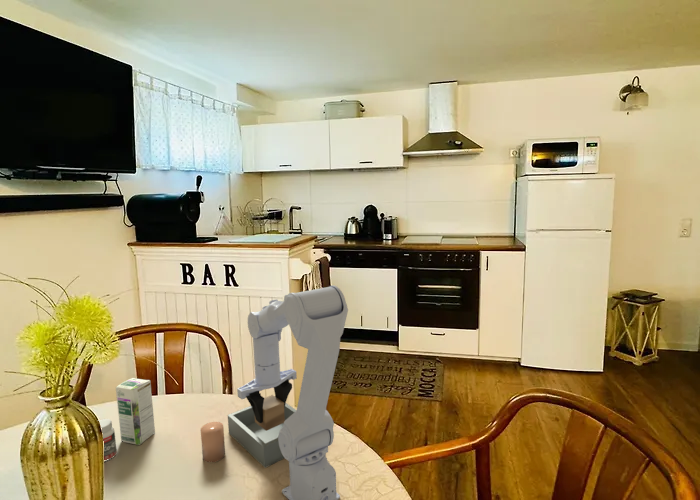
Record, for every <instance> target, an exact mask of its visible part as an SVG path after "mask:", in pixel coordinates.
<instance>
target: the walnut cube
mask: <svg viewBox="0 0 700 500" xmlns="http://www.w3.org/2000/svg"><path fill="white" fill-rule="evenodd" d="M284 421H285V416H284V402H282V401H281V400H279V399H278V398H276V397H275V395H274V394H271V395H269V396H266V397H264V403H263V422H262V423H259V422H258V421H257V420H256V418H255V422H256V423H257V424H258V425H259V426H261V427H262V428H263V429H264V430H266V431H267V430H269V429H271V428H273V427H276V426H278V425H280V424H282V423H284Z"/></svg>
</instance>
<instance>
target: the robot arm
mask: <svg viewBox="0 0 700 500" xmlns="http://www.w3.org/2000/svg"><path fill="white" fill-rule="evenodd" d="M283 297H284V298H283V301H282V300H278V299H272V300H270V301H269V302H268V303H269V304H268V305H266V306H265V305H264V306H263V307H262V309H261V310H259V311H250V312H249V314H248V315H247V328H248V331H249V335H250V336H251V338H252V346H253V365H254V378H253V379H252V380H250V381H248V382H247V383H245V384H244V385H242V386H240V387H237V388H236V389H237V397H238V398H239V399H241V400H245V399H246V400H247V401H248V403H249V405H250V406H251V407H252V409H253V412H254V415H255V418H256V420H257V421H258V422H259V423H262V422H263V403H264V398H265V397H263V396H262V395H261V393H260V392H261V391H264V390H269V389H273V390H274V391H273V392H274V396H275V397H276V398H278V399H279V400H281V401H282V402H284V408H285V404H286V403H287V399H288V397H289V395H290V392H291V391H292V389H293V383H291V382H290V380H293V381H294V380H297V377H298V376H297V370H294V368H290V369H286V370H281V362H280V341H281V340H282V331H283V329H284V328H286V327H287V326H289V328H290V330H291V332H292V335H293V337H294V339H295V341H296V343H297V345H298V346H299V347H302V348H304V349H307V354H306V359H305V360H306V361H305V365H304V370H303V376H302V380H301V386H300V391H299V396H298V402H297V407H296V409H295V410H296V411H295V412H294V413H293V414H292V415H291V416H290V417H289V418H288V419H286V420H285V421H284V425H283V427H282V428H281V430H280V432H279V435H278V442H279V447H280V450H281V453H282V455H283V456H284V459H285V460H287V461H288V468H289V485H288V486H286V487H284V488H283V489H281V493H282V494H283V495H284V497H286V498H287V499H288V500H340V498H341V496H340V494H339V493H338V492H337V472H336V469H335V468H334V466H333V465H331V463H330V462H329V460H328V458H327V455H326V454H327V453H329V447H330V446H332V445H333V443H334V439H335V437H334V436H335V434H334V433H335V432H334V426H335V422H334V419H333V418H332V416H331V414H330V413H329V411H328V410H327V406H328V402H329V401H328V400H329V396H330V391H331V388H332V383H333V379H334V375H335V370H336V367H337V362H338V357H339V355H340V348H341V337H342V335H343V334H344V330H345V325H346V321H347V316H348V312H349V309H348V304H347V301H346V298H345V295H344V292H342V290H341V288H339V287H338V285H334V284H333V285H329V286H327V287H321V288H316V289H311V290H305V291H300V292H289V293H288V294H285V295H284V296H283Z"/></svg>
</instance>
